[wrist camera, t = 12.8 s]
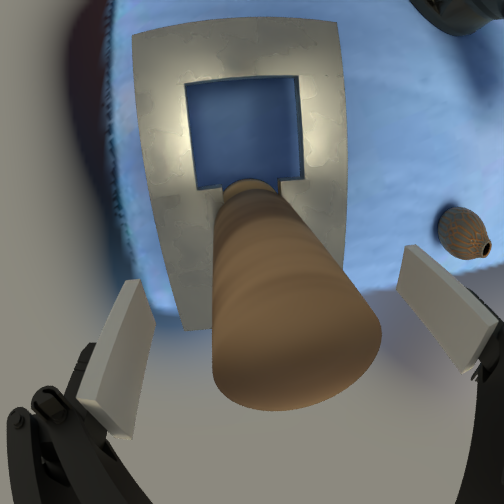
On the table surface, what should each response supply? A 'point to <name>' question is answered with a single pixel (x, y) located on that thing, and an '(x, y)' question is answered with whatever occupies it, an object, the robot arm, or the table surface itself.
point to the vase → (463, 234)
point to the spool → (282, 307)
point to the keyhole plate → (180, 140)
